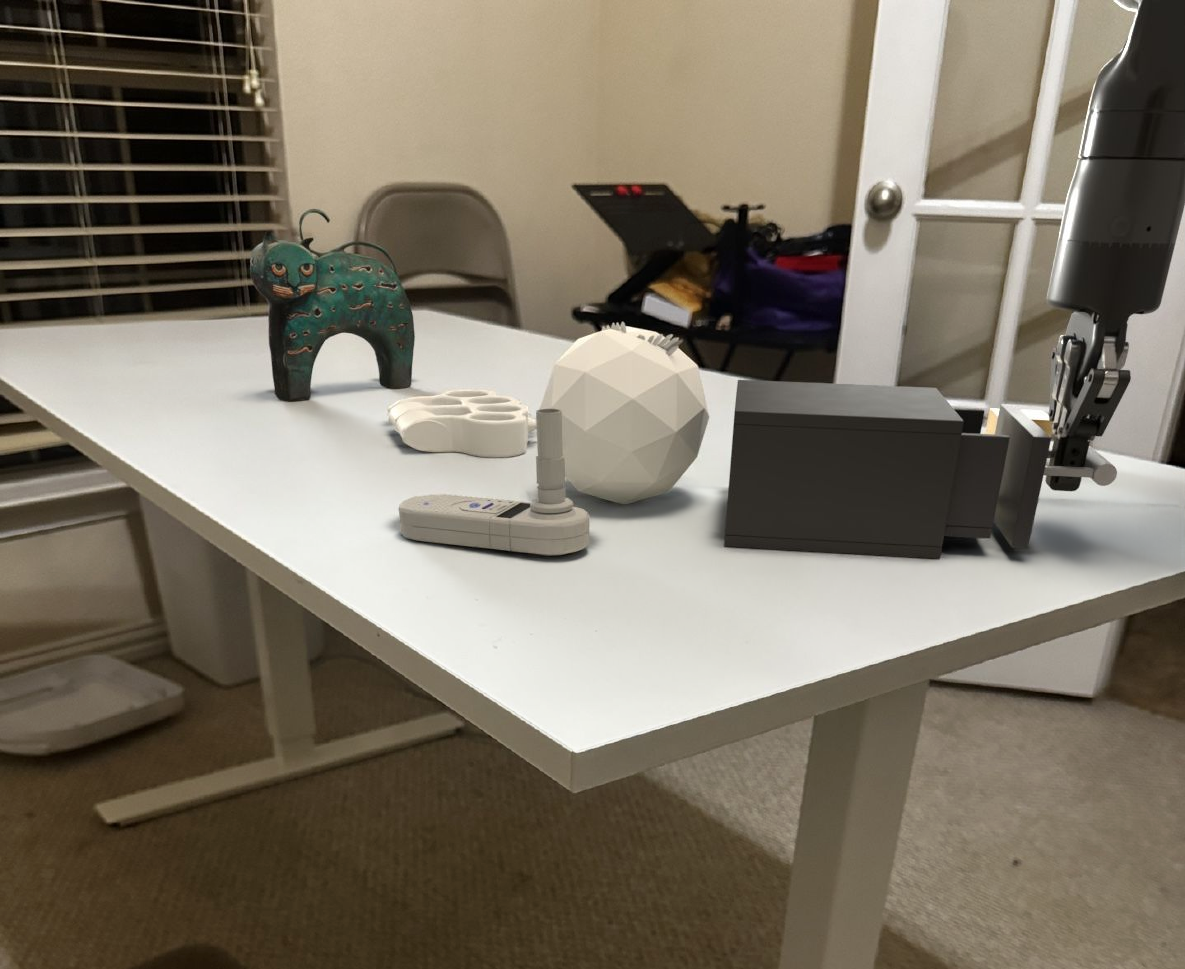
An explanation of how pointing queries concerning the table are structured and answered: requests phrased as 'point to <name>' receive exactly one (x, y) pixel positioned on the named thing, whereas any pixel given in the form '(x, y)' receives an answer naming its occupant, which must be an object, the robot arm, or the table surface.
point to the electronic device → (507, 509)
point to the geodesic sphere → (627, 412)
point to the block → (1034, 415)
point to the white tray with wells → (464, 423)
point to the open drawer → (1007, 476)
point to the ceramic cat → (330, 309)
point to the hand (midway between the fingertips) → (1061, 488)
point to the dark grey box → (841, 468)
